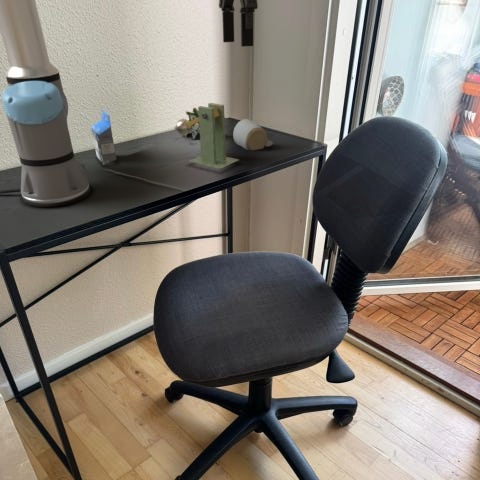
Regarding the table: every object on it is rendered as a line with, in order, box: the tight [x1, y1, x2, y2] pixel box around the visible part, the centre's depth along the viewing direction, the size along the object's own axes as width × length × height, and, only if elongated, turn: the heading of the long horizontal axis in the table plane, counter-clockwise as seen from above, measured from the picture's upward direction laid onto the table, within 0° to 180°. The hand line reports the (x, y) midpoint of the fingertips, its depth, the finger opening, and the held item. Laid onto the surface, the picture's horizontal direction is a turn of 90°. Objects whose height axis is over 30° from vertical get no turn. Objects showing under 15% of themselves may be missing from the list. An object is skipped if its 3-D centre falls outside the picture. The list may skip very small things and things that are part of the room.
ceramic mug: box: [232, 118, 274, 151], centre depth 135 cm, size 11×8×8 cm
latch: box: [175, 106, 220, 136], centre depth 123 cm, size 14×4×4 cm, turn 54°
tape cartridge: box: [90, 109, 117, 166], centre depth 127 cm, size 9×4×12 cm, turn 27°
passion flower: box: [174, 107, 200, 141], centre depth 143 cm, size 11×11×12 cm
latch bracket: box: [188, 102, 240, 170], centre depth 122 cm, size 11×8×15 cm
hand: (237, 44), depth 115 cm, fingers open, 13 cm apart
